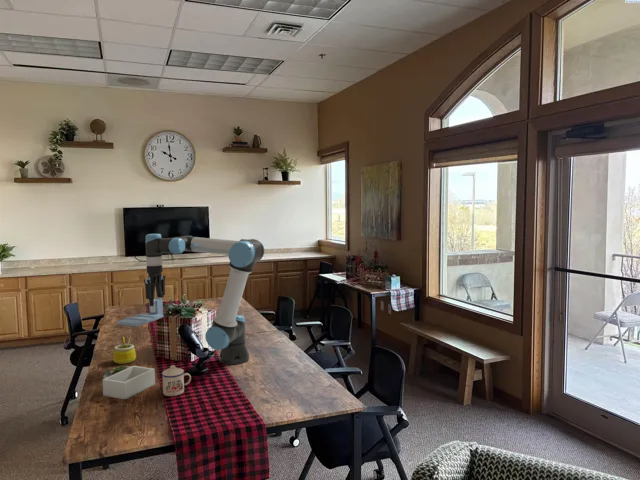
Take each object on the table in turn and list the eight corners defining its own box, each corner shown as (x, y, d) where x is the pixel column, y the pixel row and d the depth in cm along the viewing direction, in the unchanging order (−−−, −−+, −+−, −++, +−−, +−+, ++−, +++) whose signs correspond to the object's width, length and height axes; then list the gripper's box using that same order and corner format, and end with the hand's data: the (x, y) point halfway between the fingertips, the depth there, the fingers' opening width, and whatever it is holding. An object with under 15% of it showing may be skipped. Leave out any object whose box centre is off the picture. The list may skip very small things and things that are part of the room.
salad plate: (91, 379, 225) (90, 370, 225) (121, 367, 242) (121, 358, 241) (121, 386, 217) (121, 375, 217) (151, 373, 233) (151, 363, 233)
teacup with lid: (164, 398, 202) (163, 370, 201) (160, 390, 210) (159, 364, 209) (193, 392, 208) (192, 365, 207) (188, 385, 216) (187, 359, 215)
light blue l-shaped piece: (168, 316, 244) (168, 299, 244) (137, 327, 224) (136, 308, 223) (149, 315, 249) (148, 298, 248) (117, 325, 228) (116, 307, 228)
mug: (128, 365, 243) (127, 342, 242) (108, 364, 245) (107, 341, 245) (142, 357, 256) (141, 335, 255) (123, 356, 258) (122, 334, 257)
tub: (155, 384, 218) (154, 368, 217) (125, 399, 201) (124, 382, 201) (133, 380, 222) (133, 365, 222) (103, 395, 206) (102, 379, 205)
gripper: (159, 262, 252) (161, 307, 254) (136, 266, 236) (138, 314, 238) (171, 263, 249) (173, 308, 251) (148, 267, 233) (150, 315, 235)
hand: (156, 311), depth 244 cm, fingers closed on light blue l-shaped piece, 4 cm apart
